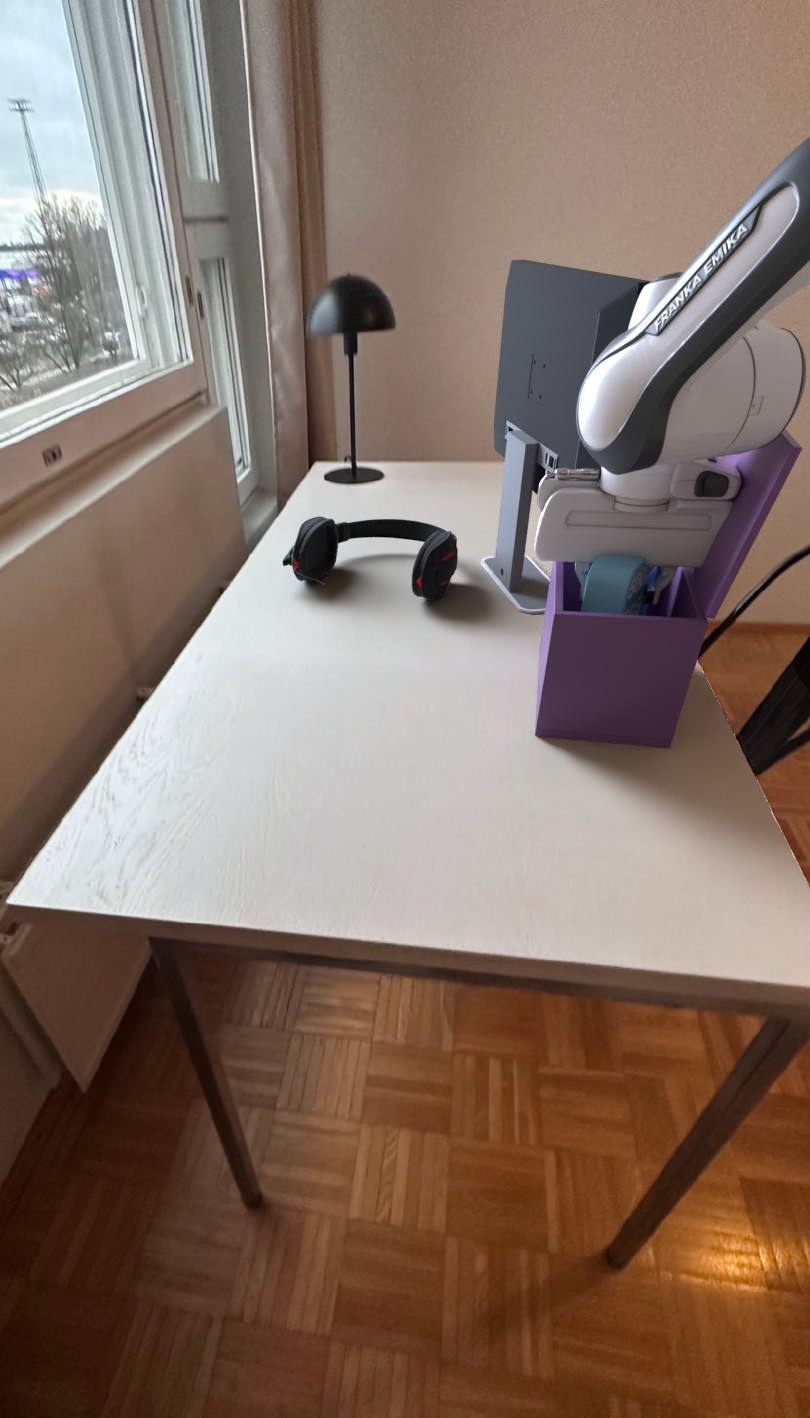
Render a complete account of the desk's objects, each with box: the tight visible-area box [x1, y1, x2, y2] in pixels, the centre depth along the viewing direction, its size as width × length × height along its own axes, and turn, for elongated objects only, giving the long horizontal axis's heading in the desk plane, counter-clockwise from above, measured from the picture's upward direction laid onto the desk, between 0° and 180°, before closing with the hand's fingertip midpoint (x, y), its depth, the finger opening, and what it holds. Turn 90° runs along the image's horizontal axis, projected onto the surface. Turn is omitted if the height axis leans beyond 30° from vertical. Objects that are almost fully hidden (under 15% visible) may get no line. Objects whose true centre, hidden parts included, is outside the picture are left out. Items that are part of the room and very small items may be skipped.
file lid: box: [690, 428, 803, 620], centre depth 75 cm, size 16×22×1 cm
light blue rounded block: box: [581, 555, 658, 616], centre depth 84 cm, size 12×4×12 cm, turn 146°
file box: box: [534, 561, 709, 749], centre depth 86 cm, size 15×22×15 cm
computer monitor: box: [480, 259, 652, 615], centre depth 105 cm, size 41×8×40 cm, turn 9°
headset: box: [282, 516, 459, 601], centre depth 118 cm, size 28×26×9 cm
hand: (617, 600), depth 83 cm, fingers closed on light blue rounded block, 5 cm apart
